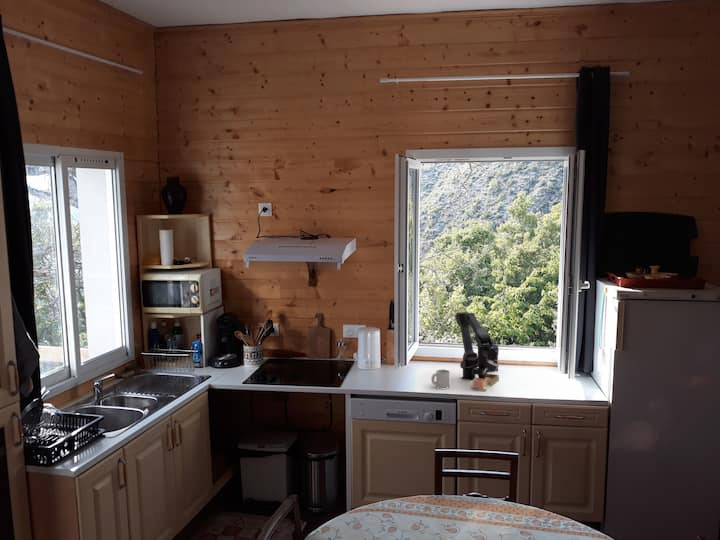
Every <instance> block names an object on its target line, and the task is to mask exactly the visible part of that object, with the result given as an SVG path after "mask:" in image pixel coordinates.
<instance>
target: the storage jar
mask: <svg viewBox="0 0 720 540" xmlns="http://www.w3.org/2000/svg"><path fill="white" fill-rule="evenodd" d="M493 348H494V350H495V351H496V352H497V357H496V359H495V360H497V361H498V362H499V352H500V351H499V345H498V344H495V343H493ZM495 360H491V361H495ZM487 370H490V371H489V372H488V373H496V372H498V371H499V367H498V368H497V370H496V372H495V371H492V370H491V369H489V368H488V367H487Z"/></svg>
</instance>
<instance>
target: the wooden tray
mask: <svg viewBox="0 0 720 540" xmlns="http://www.w3.org/2000/svg"><path fill="white" fill-rule="evenodd" d="M477 378H479V377H478V376H477ZM485 379H486V387H485V388H483V389H479V388H473V384H472V385H471V386H470V388H471V389H470V390H475V389H476V391H482V392H486V391H488V390H489V389H490V388H491V387H492V386H493V384H494V383H495V384H496V383H498V382H499V379H500V374H494V373H489V372H487V374H486V377H485ZM495 384H494V385H495ZM487 389H488V390H487Z"/></svg>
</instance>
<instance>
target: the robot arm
mask: <svg viewBox="0 0 720 540" xmlns="http://www.w3.org/2000/svg"><path fill="white" fill-rule="evenodd" d="M454 319H455V320H456V324H457V325H458V327H459V328H460V332H461V338H462V344H463V349H464V352H463V355H462V361H461V362H460V363H459V366H460V368H461V369H462V377H461V379H462V380H467V379H469V381H473V380H475V379H476V378H478V377H479V378H482V379H485V377H486V374H487V373H490V372H489V371H490V370H487V367H488V368H489V369H491V370H492V371H496V370H497V368H498V369H499V365H500V364H499V360H498V361H497V360H495V359H496V357H497V352H496V351H495V350H494V348H493V344H494V342H493V340H492V336H491V335H490V333H488V332H487V330H485V329H483V327H482V326H481V323H480V322H479V321H478V319H477V317H476V314H475V313H474V312H468V311H460V312H459V311H458V312H456V314H455V316H454ZM470 328H471V329H472V332H473V334H474V339H475V342H476V347H477V352H475V351H474V348H473V343H472V338H471V331H470ZM491 360H495V361H491ZM496 372H497V371H496ZM476 376H477V377H476Z"/></svg>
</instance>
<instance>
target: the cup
mask: <svg viewBox="0 0 720 540" xmlns="http://www.w3.org/2000/svg"><path fill="white" fill-rule="evenodd" d="M435 378H436V381H435ZM431 383H432V384H433V386H434V385H435V386H436V388H437V387H439V388H438V389H440V388H447V387H449V388H450V370H448V369H438V370H436V371H435V373H433V374H432V376H431ZM447 389H448V388H447Z"/></svg>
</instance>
